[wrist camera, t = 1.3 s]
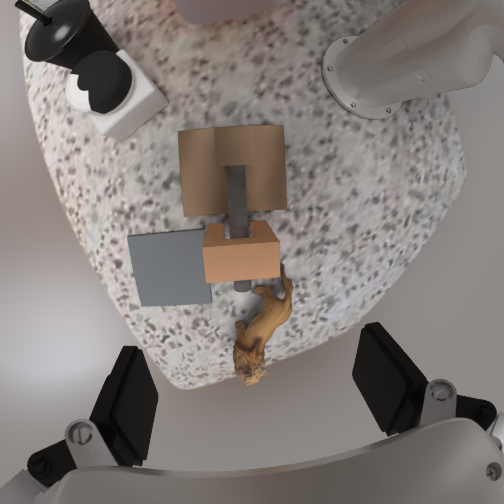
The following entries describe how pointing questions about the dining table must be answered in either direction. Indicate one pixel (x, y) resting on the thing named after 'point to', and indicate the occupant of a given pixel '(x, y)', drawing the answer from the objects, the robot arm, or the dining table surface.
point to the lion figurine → (260, 332)
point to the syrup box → (41, 4)
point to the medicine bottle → (113, 93)
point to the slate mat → (170, 268)
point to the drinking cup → (65, 33)
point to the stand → (233, 174)
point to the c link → (241, 254)
